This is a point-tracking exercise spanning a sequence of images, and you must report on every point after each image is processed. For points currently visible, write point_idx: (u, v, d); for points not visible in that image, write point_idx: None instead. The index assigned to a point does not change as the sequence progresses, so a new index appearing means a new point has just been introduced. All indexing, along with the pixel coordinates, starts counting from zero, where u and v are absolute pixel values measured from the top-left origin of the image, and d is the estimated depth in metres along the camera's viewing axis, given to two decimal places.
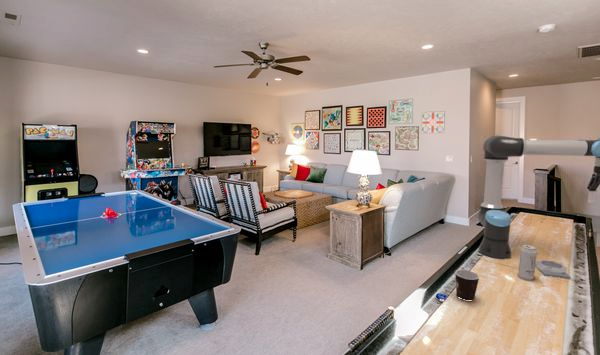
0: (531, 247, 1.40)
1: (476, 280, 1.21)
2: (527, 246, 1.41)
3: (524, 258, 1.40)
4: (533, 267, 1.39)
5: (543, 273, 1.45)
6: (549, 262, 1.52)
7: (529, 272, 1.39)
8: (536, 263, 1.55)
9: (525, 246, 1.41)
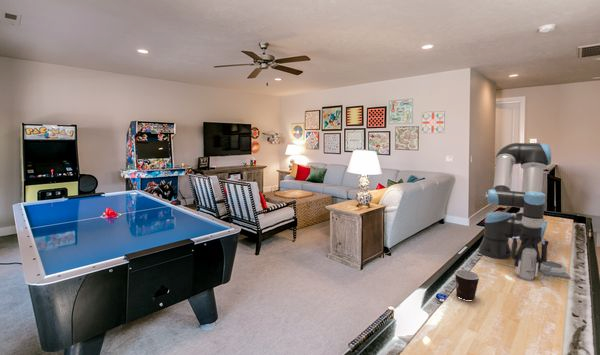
0: (531, 247, 1.40)
1: (476, 280, 1.21)
2: (527, 246, 1.41)
3: (524, 258, 1.40)
4: (533, 267, 1.39)
5: (543, 273, 1.45)
6: (549, 262, 1.52)
7: (529, 272, 1.39)
8: None
9: None
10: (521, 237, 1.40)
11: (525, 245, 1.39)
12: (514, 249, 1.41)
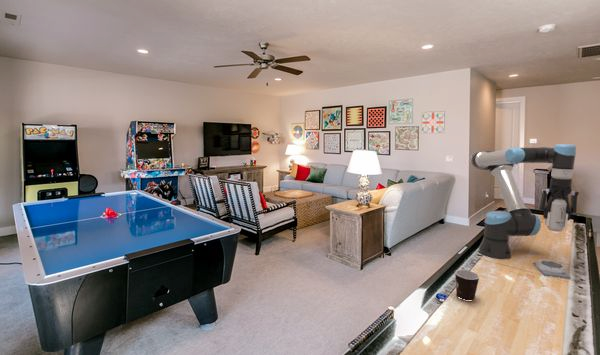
0: (561, 199, 1.43)
1: (476, 280, 1.21)
2: (557, 198, 1.44)
3: (554, 210, 1.43)
4: (563, 218, 1.42)
5: (543, 273, 1.45)
6: (549, 262, 1.52)
7: (559, 223, 1.42)
8: (536, 263, 1.55)
9: None
10: (551, 189, 1.43)
11: (555, 197, 1.42)
12: (543, 201, 1.45)
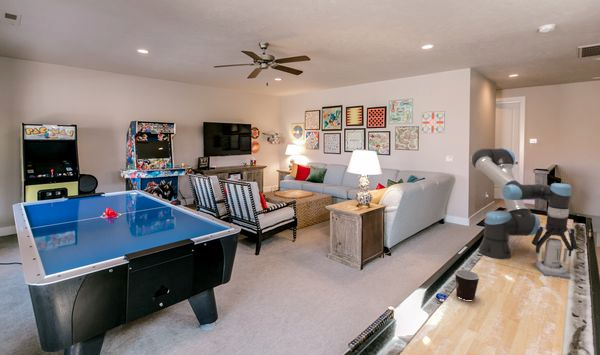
0: (556, 239, 1.46)
1: (476, 280, 1.21)
2: (552, 239, 1.48)
3: (550, 250, 1.46)
4: (558, 258, 1.45)
5: (543, 273, 1.45)
6: None
7: (555, 263, 1.46)
8: (536, 263, 1.55)
9: (550, 239, 1.48)
10: (547, 227, 1.46)
11: (550, 234, 1.46)
12: (538, 237, 1.48)
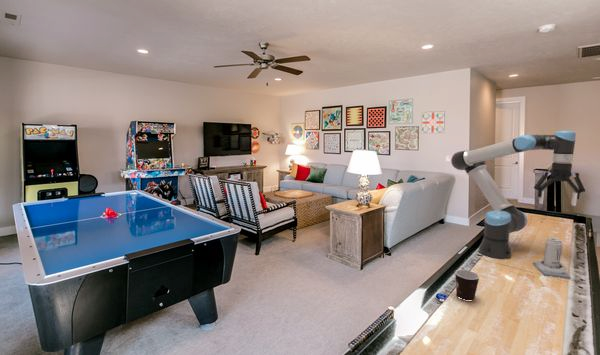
0: (556, 239, 1.46)
1: (476, 280, 1.21)
2: (552, 239, 1.48)
3: (550, 250, 1.46)
4: (558, 258, 1.45)
5: (543, 273, 1.45)
6: None
7: (555, 263, 1.46)
8: (536, 263, 1.55)
9: (550, 239, 1.48)
10: (553, 173, 1.52)
11: (554, 179, 1.52)
12: (541, 181, 1.54)
